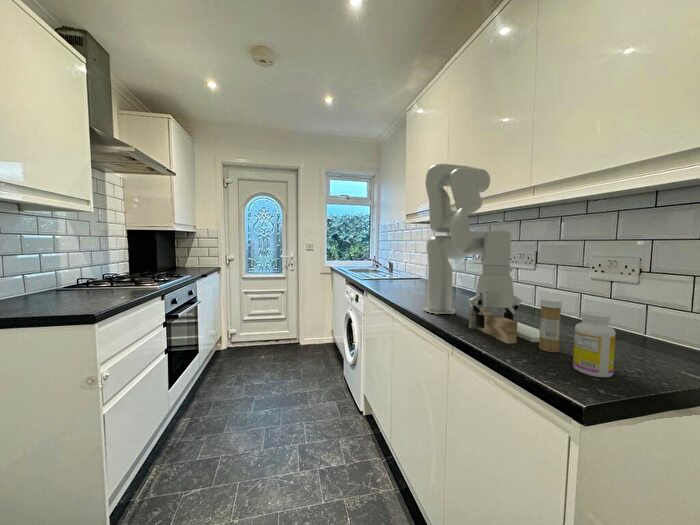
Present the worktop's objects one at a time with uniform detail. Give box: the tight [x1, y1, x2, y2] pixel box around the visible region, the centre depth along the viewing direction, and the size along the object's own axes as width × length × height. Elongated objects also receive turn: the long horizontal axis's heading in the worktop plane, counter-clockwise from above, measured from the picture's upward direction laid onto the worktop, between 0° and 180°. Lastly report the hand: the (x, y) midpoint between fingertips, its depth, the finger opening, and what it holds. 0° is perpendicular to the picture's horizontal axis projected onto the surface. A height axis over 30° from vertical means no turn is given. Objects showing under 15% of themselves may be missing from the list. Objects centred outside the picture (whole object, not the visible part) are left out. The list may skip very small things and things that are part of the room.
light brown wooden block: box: [468, 309, 518, 344], centre depth 86 cm, size 15×7×6 cm, turn 9°
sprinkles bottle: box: [538, 298, 563, 353], centre depth 74 cm, size 5×5×14 cm
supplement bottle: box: [572, 310, 616, 378], centre depth 61 cm, size 7×7×13 cm
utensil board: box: [516, 321, 540, 343], centre depth 89 cm, size 16×9×1 cm, turn 9°
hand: (494, 326), depth 86 cm, fingers open, 9 cm apart
